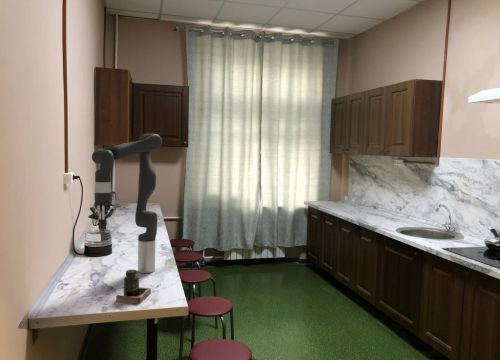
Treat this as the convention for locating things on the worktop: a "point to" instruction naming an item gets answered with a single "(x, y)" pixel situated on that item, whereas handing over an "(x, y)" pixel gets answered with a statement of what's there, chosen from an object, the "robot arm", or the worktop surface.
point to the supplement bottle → (131, 283)
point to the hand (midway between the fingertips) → (102, 226)
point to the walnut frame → (131, 299)
